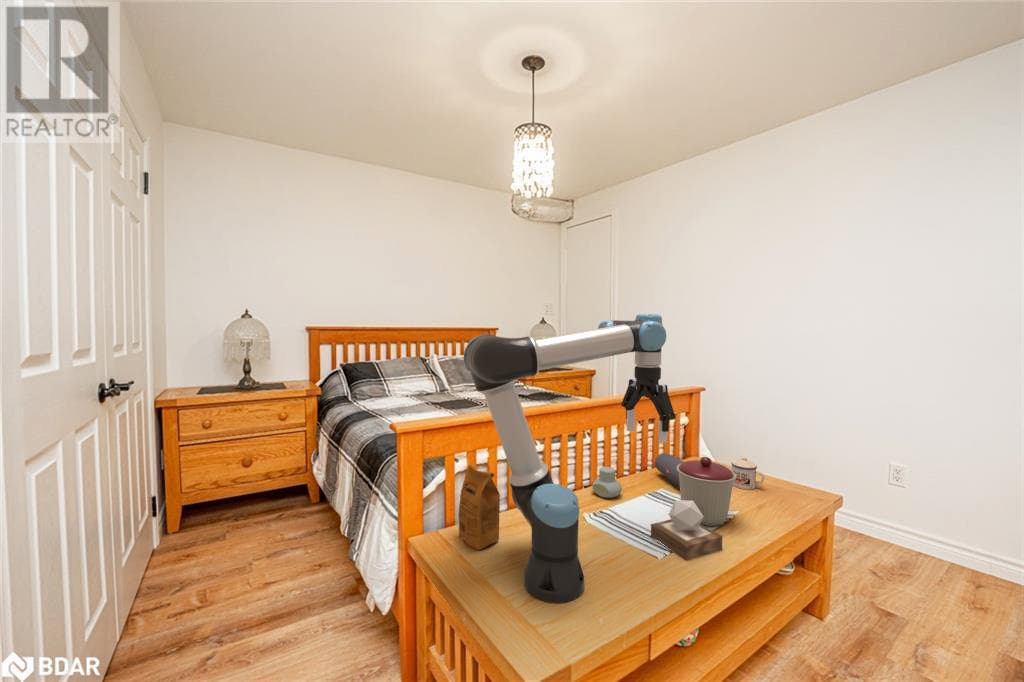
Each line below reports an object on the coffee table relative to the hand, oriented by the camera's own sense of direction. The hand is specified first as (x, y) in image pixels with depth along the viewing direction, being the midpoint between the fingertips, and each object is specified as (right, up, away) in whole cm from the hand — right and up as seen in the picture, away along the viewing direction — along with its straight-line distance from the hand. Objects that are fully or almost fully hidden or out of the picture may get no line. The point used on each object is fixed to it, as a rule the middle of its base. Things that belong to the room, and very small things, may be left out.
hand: (645, 436), depth 128 cm
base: (+12, -32, 0) cm, 34 cm away
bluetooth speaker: (+27, -30, +45) cm, 60 cm away
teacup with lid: (+54, -30, +43) cm, 76 cm away
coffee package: (-50, -32, +1) cm, 59 cm away
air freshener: (-4, -30, +34) cm, 46 cm away
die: (+12, -28, 0) cm, 30 cm away
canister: (+24, -31, +15) cm, 42 cm away
